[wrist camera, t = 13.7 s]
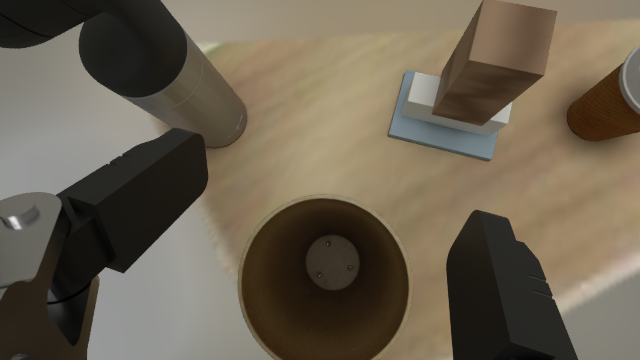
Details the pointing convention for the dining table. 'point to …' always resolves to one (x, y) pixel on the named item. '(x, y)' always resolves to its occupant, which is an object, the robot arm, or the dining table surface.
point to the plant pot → (325, 281)
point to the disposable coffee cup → (610, 104)
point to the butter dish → (440, 121)
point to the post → (494, 61)
